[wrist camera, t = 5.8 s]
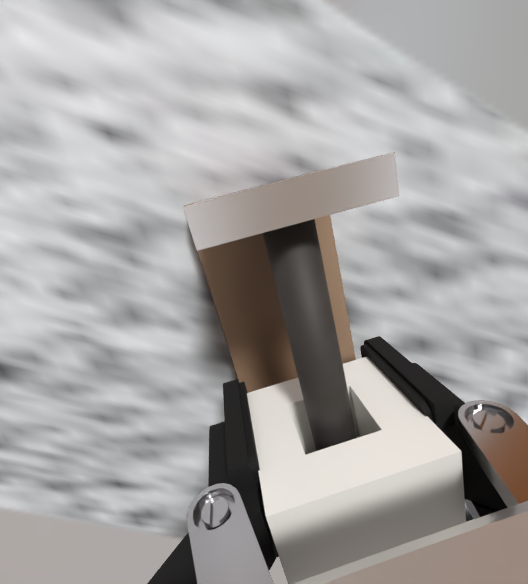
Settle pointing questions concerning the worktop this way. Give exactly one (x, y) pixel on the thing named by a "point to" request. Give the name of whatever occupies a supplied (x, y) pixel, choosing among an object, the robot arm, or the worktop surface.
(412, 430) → the sleeve
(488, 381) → the worktop surface
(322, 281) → the wooden stand
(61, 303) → the worktop surface
